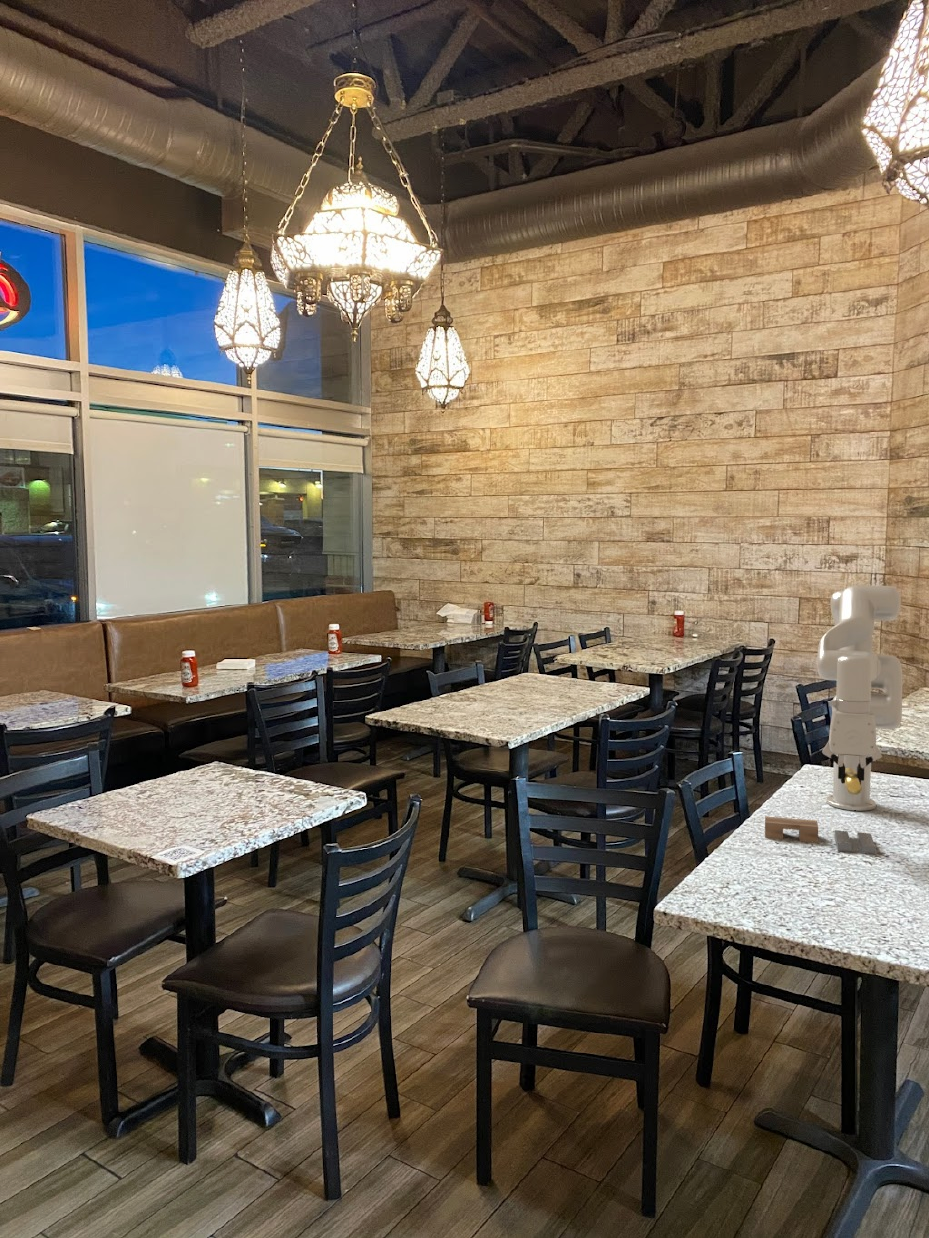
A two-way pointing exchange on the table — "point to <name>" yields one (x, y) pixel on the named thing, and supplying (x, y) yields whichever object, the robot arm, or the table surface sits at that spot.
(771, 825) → the walnut beam
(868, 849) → the iron V-block
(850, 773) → the brass rod
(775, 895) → the table surface
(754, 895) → the table surface
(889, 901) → the table surface
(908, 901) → the table surface
